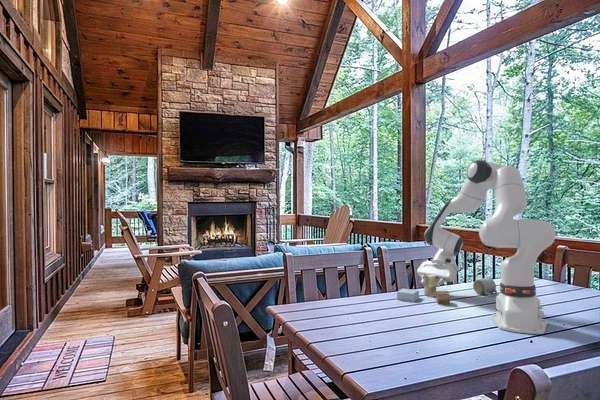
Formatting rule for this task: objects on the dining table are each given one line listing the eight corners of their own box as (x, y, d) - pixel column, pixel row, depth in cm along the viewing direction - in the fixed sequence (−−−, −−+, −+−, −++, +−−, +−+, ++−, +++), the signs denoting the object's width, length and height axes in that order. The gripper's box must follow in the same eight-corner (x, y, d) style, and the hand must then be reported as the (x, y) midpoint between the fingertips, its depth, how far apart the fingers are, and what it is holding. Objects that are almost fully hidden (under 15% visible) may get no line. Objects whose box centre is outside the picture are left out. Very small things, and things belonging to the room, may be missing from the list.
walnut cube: (449, 304, 169) (449, 293, 169) (438, 304, 170) (437, 293, 170) (447, 301, 174) (447, 291, 174) (436, 301, 175) (436, 290, 175)
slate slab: (413, 302, 175) (413, 293, 175) (397, 300, 180) (397, 291, 180) (419, 298, 182) (418, 290, 182) (402, 296, 186) (402, 288, 186)
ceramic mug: (471, 292, 189) (471, 277, 189) (484, 291, 192) (484, 276, 192) (488, 297, 179) (488, 281, 179) (501, 296, 182) (501, 280, 182)
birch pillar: (436, 295, 185) (435, 275, 185) (431, 297, 183) (430, 276, 183) (429, 294, 188) (429, 274, 189) (424, 295, 186) (424, 275, 186)
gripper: (421, 256, 198) (409, 277, 193) (456, 261, 181) (444, 284, 176) (427, 264, 201) (415, 285, 195) (461, 269, 184) (450, 292, 178)
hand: (429, 284), depth 185 cm, fingers open, 7 cm apart
